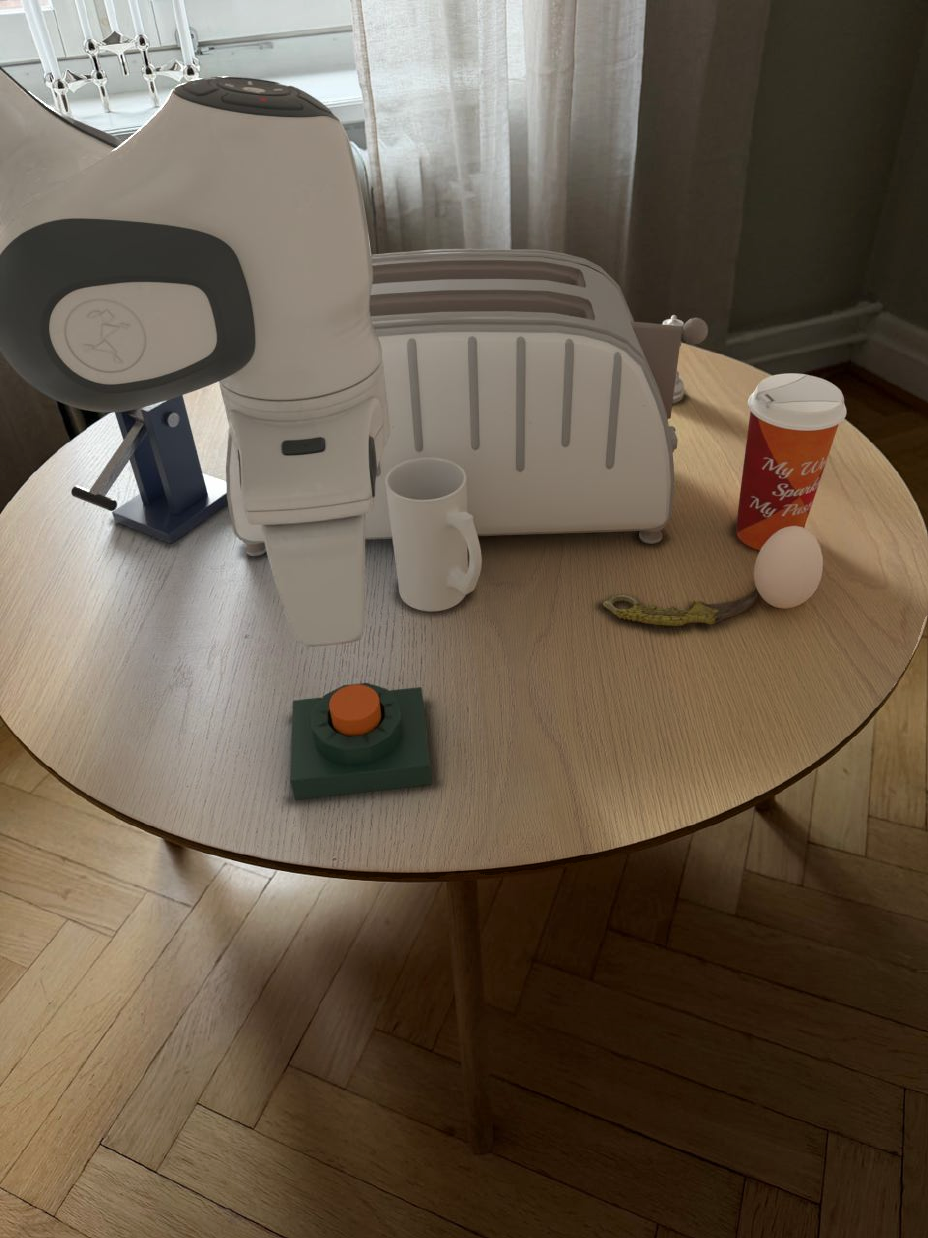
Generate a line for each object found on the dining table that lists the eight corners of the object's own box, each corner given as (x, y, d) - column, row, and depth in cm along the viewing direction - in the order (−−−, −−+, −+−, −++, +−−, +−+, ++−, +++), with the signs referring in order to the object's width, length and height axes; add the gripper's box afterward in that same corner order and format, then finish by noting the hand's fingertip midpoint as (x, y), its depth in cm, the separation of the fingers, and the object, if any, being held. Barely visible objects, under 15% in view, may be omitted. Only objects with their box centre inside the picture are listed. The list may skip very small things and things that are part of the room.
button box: (294, 800, 66) (285, 764, 64) (296, 719, 72) (288, 683, 70) (432, 784, 67) (429, 748, 64) (423, 706, 73) (420, 669, 71)
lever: (117, 516, 86) (101, 503, 84) (80, 502, 88) (64, 489, 86) (184, 414, 89) (170, 399, 87) (147, 403, 91) (133, 387, 89)
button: (332, 739, 66) (329, 722, 65) (331, 703, 69) (329, 686, 68) (382, 734, 66) (380, 717, 65) (380, 698, 69) (377, 681, 68)
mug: (381, 588, 85) (368, 476, 77) (438, 558, 88) (432, 448, 80) (450, 643, 79) (444, 528, 71) (509, 609, 82) (509, 495, 74)
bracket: (171, 544, 91) (136, 428, 83) (114, 521, 94) (76, 408, 86) (239, 494, 97) (214, 383, 89) (184, 475, 101) (154, 366, 92)
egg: (801, 582, 83) (820, 509, 78) (820, 622, 79) (842, 547, 74) (740, 584, 83) (756, 512, 78) (756, 624, 79) (774, 550, 74)
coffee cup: (750, 566, 85) (781, 421, 75) (709, 518, 91) (733, 378, 81) (830, 550, 87) (872, 405, 77) (785, 503, 93) (818, 364, 83)
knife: (759, 577, 82) (780, 610, 78) (757, 586, 83) (778, 618, 79) (600, 593, 82) (614, 627, 78) (600, 601, 82) (613, 635, 78)
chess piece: (689, 393, 111) (701, 313, 104) (671, 408, 108) (681, 326, 102) (657, 384, 113) (666, 304, 106) (639, 397, 110) (647, 317, 104)
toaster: (705, 552, 87) (745, 323, 72) (233, 567, 88) (178, 343, 73) (666, 437, 103) (692, 231, 89) (268, 451, 104) (228, 248, 89)
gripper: (261, 338, 59) (296, 517, 68) (238, 519, 43) (288, 720, 52) (360, 329, 59) (382, 509, 68) (372, 505, 44) (398, 707, 53)
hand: (341, 602), depth 60 cm, fingers closed
